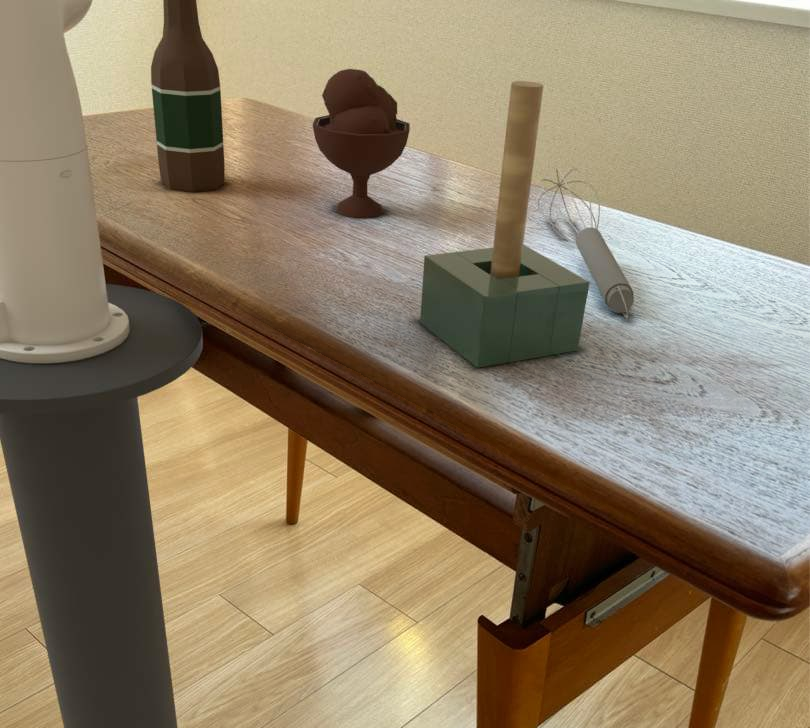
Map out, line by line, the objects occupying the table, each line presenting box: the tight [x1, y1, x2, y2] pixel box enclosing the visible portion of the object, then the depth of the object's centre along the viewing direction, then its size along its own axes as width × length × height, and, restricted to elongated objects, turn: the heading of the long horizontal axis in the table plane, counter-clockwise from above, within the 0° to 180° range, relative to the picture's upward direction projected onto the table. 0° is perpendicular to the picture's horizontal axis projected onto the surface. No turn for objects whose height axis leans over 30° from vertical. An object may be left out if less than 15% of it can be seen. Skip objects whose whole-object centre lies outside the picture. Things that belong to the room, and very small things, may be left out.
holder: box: [419, 243, 590, 369], centre depth 80 cm, size 10×10×6 cm
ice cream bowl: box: [312, 68, 411, 219], centre depth 105 cm, size 11×11×15 cm
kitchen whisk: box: [537, 167, 635, 319], centre depth 97 cm, size 6×34×6 cm, turn 3°
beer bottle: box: [150, 0, 226, 193], centre depth 108 cm, size 8×8×24 cm
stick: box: [490, 80, 544, 280], centre depth 76 cm, size 2×2×20 cm
